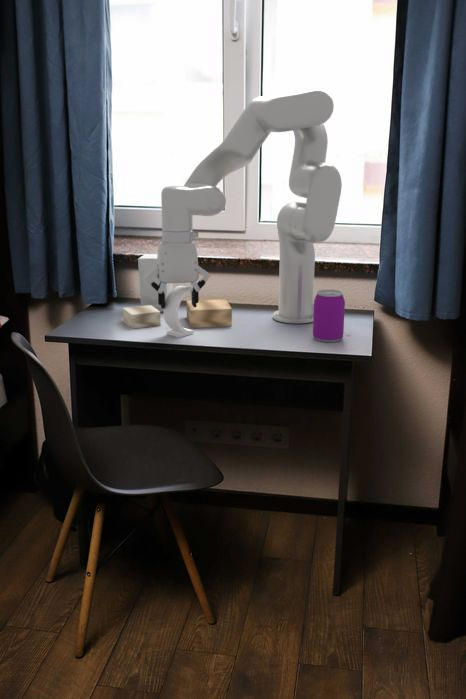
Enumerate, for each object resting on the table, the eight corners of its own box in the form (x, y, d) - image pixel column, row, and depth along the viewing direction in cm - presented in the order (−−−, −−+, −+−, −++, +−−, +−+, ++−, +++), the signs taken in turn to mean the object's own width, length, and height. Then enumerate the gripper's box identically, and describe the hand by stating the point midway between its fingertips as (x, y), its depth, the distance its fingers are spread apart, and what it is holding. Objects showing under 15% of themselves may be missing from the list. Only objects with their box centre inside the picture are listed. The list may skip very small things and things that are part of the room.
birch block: (151, 319, 221) (151, 305, 219) (160, 326, 214) (160, 311, 212) (123, 322, 218) (122, 307, 216) (131, 329, 211) (131, 314, 209)
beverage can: (341, 334, 205) (343, 289, 202) (344, 343, 198) (347, 296, 194) (311, 334, 206) (313, 288, 202) (313, 343, 198) (315, 295, 195)
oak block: (225, 316, 224) (225, 299, 222) (231, 327, 213) (231, 308, 212) (186, 318, 222) (186, 300, 221) (190, 328, 212) (190, 310, 210)
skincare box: (174, 307, 232) (173, 254, 227) (167, 313, 226) (166, 258, 221) (146, 305, 234) (145, 253, 229) (139, 311, 228) (137, 257, 223)
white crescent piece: (193, 333, 206) (193, 288, 202) (176, 338, 202) (175, 291, 198) (181, 330, 209) (180, 285, 205) (164, 334, 205) (162, 288, 201)
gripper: (208, 233, 203) (209, 301, 208) (140, 236, 199) (142, 305, 205) (214, 238, 196) (215, 308, 201) (144, 240, 192) (146, 312, 198)
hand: (178, 306), depth 203 cm, fingers closed on white crescent piece, 7 cm apart
